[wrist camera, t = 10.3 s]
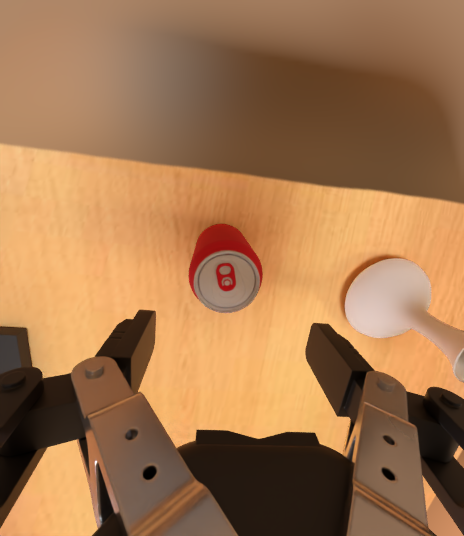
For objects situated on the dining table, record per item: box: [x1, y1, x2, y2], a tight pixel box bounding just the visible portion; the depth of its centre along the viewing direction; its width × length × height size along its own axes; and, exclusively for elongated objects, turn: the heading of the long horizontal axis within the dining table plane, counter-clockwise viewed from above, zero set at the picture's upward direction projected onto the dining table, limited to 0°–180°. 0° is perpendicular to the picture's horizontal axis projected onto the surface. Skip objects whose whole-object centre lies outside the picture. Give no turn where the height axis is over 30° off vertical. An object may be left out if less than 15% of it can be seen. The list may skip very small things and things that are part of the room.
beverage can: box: [189, 224, 263, 313], centre depth 24 cm, size 6×6×12 cm
